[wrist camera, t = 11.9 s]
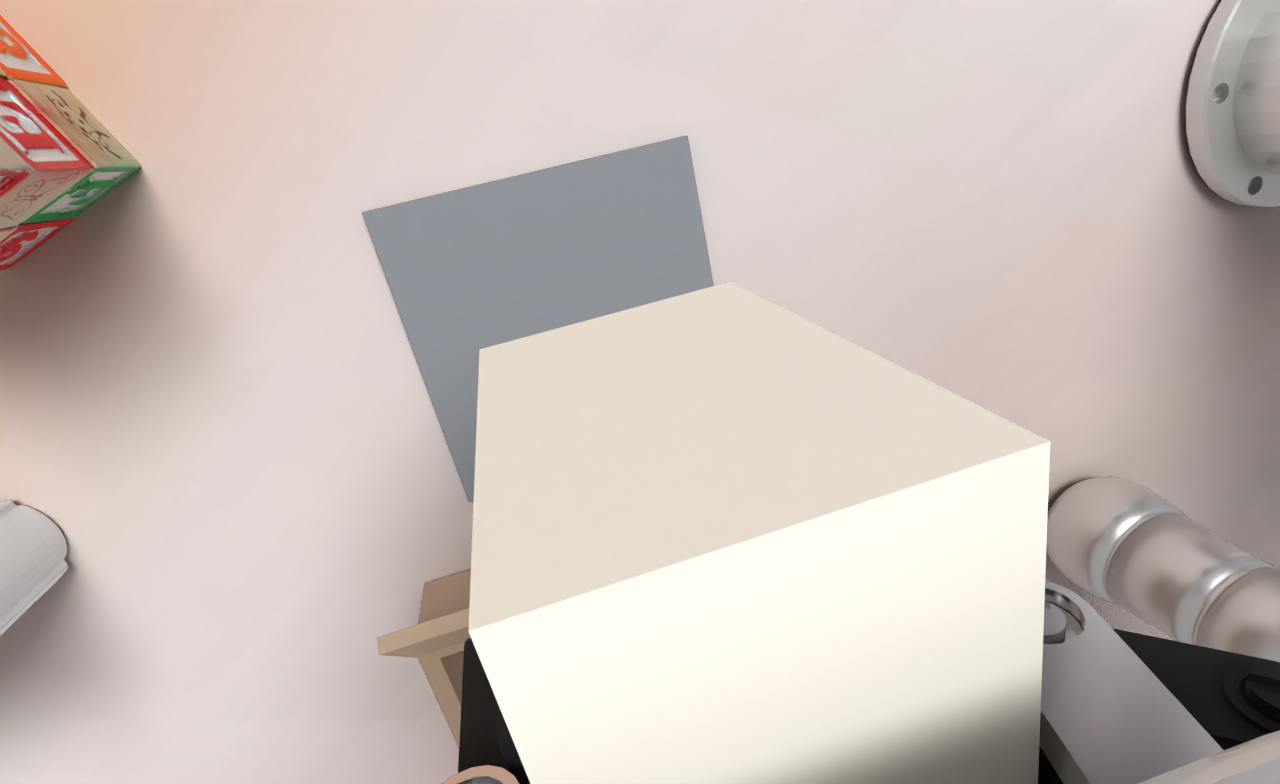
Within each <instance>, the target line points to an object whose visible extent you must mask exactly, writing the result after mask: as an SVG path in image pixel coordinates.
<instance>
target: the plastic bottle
mask: <svg viewBox="0 0 1280 784" xmlns="http://www.w3.org/2000/svg"><path fill="white" fill-rule="evenodd" d="M1046 550H1047V553H1048V556H1049V558H1050V560H1051V561H1052V563H1053V564H1054V565H1055V566H1056V567H1057V568H1058V569H1059V570H1060V571H1061V572H1062V573H1063V574H1064V575H1065V576H1066V577H1067V578H1068V579H1069V580H1070V581H1072V582H1073V583H1074V584H1075V585H1077V586H1079V587H1081V588H1083V589H1085V590H1086V591H1088V592H1090V593H1092V594H1094V595H1095V596H1097V597H1100V598H1102V599H1104V600H1106V601H1108V602H1111V603H1113V604H1116V605H1118V606H1120V607H1122V608H1123V609H1125V610H1127V611H1128V612H1130V613H1132V614H1133V615H1135V616H1137V617H1138V618H1140V619H1142V620H1143V621H1145V622H1147V623H1148V624H1150V625H1152V626H1153V627H1155V628H1157V629H1158V630H1160V631H1162V632H1163V633H1165V634H1167V635H1168V636H1170V637H1172V638H1173V639H1175V640H1177V641H1178V642H1182V643H1187V644H1192V645H1197V646H1202V647H1207V648H1213V649H1218V650H1223V651H1228V652H1233V653H1238V654H1243V655H1248V656H1253V657H1258V658H1263V659H1268V660H1273V661H1276V662H1280V569H1279V568H1276V567H1275V566H1274V565H1272V564H1270V563H1268V562H1265V561H1263V560H1261V559H1259V558H1257V557H1255V556H1252V555H1250V554H1248V553H1247V552H1245V551H1243V550H1242V549H1240V548H1238V547H1237V546H1235V545H1233V544H1232V543H1230V542H1228V541H1227V540H1225V539H1223V538H1222V537H1220V536H1218V535H1217V534H1215V533H1214V532H1212V531H1210V530H1209V529H1207V528H1205V527H1204V526H1202V525H1200V524H1199V523H1197V522H1195V521H1194V520H1192V519H1190V518H1188V517H1187V516H1186V515H1185V514H1184V513H1183V512H1182V511H1180V510H1179V509H1178V508H1177V507H1175V506H1174V505H1173V504H1172V503H1170V502H1169V501H1167V500H1166V499H1164V498H1163V497H1161V496H1159V495H1158V494H1156V493H1155V492H1153V491H1152V490H1150V489H1148V488H1146V487H1145V486H1142V485H1139V484H1136V483H1133V482H1130V481H1126V480H1123V479H1120V478H1115V477H1099V478H1090V479H1086V480H1083V481H1080V482H1078V483H1076V484H1074V485H1073V486H1071V487H1070V488H1068V489H1067V490H1066V491H1064V492H1063V493H1062V494H1061V495H1060V496H1059V497H1058V498H1057V500H1056V501H1055V502H1054V503H1053V505H1052V506H1051V508H1050V510H1049V512H1048V519H1047V546H1046Z"/></svg>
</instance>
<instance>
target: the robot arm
mask: <svg viewBox="0 0 1280 784" xmlns="http://www.w3.org/2000/svg"><path fill="white" fill-rule="evenodd" d="M1186 133H1187V138H1188V144H1189V149H1190V154H1191V156H1192V159H1193V161H1194V164H1195V166H1196V169H1197V171H1198V173H1199V175H1200V176H1201V177H1202V179H1203V180H1204V181H1205V183H1206V184H1207V185H1208V187H1209V188H1210V189H1211V190H1212V191H1214V192H1215V193H1216V194H1218V195H1219V196H1220V197H1222V198H1223V199H1225V200H1228V201H1231V202H1233V203H1236V204H1239V205H1248V206H1258V207H1277V206H1280V0H1222V1H1221V2H1220V4H1219V6H1218V8H1217V9H1216V11H1215V13H1214V14H1213V16H1212V18H1211V20H1210V21H1209V24H1208V26H1207V28H1206V31H1205V33H1204V36H1203V38H1202V40H1201V43H1200V45H1199V47H1198V50H1197V53H1196V57H1195V61H1194V64H1193V68H1192V71H1191V75H1190V79H1189V86H1188V93H1187V100H1186ZM442 784H530V781H529V779H528V776H527V774H526V771H525V769H524V766H523V764H522V762H521V759H520V757H519V754H518V752H517V749H516V747H515V744H514V742H513V739H512V737H511V735H510V732H509V730H508V727H507V725H506V722H505V720H504V717H503V715H502V712H501V710H500V708H499V705H498V703H497V700H496V698H495V695H494V693H493V690H492V688H491V685H490V683H489V681H488V678H487V676H486V673H485V671H484V668H483V666H482V663H481V661H480V658H479V656H478V653H477V651H476V649H475V646H474V644H473V641H472V639H471V638H469V639H467V640H466V641H465V645H464V656H463V678H462V700H461V721H460V743H459V765H458V773H457V774H455V775H453V776H452V777H451V778H449V779H448V780H446V781H445V782H444V783H442ZM1038 784H1280V662H1276V661H1273V660H1268V659H1263V658H1258V657H1253V656H1248V655H1243V654H1238V653H1233V652H1228V651H1223V650H1218V649H1213V648H1207V647H1202V646H1197V645H1192V644H1187V643H1182V642H1177V641H1172V640H1167V639H1162V638H1157V637H1152V636H1147V635H1142V634H1137V633H1132V632H1127V631H1122V630H1117V629H1112V628H1111V627H1110V626H1109V625H1108V624H1107V622H1106V621H1105V620H1104V619H1103V618H1102V617H1101V616H1100V615H1099V614H1098V613H1097V612H1096V610H1095V609H1094V608H1093V607H1092V606H1091V605H1090V604H1089V603H1088V602H1087V601H1085V600H1084V599H1083V598H1082V597H1081V596H1079V595H1078V594H1077V593H1075V592H1073V591H1071V590H1069V589H1067V588H1065V587H1063V586H1061V585H1059V584H1055V583H1052V582H1049V581H1046V580H1045V602H1044V630H1043V658H1042V685H1041V713H1040V741H1039V769H1038Z"/></svg>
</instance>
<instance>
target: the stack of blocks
mask: <svg viewBox="0 0 1280 784" xmlns="http://www.w3.org/2000/svg"><path fill="white" fill-rule="evenodd" d="M140 168H141V165H140V163H139V162H138V161H137V160H136V159H135V158H134V157H133V156H132V155H131V154H130V153H129V152H128V151H127V150H126V149H125V148H124V146H123V145H122V144H121V143H120V142H119V141H118V140H117V139H116V138H115V137H114V136H113V135H112V134H111V133H110V132H109V131H108V130H107V129H106V128H105V127H104V126H103V125H102V124H101V123H100V122H99V121H98V119H97V118H96V117H95V116H94V115H93V114H92V113H91V112H90V111H89V110H88V109H87V108H86V107H85V106H84V105H83V104H82V103H81V102H80V101H79V100H78V99H77V98H76V97H75V96H74V95H73V93H72V92H71V91H70V90H69V89H68V88H67V85H66V83H65V82H64V81H63V80H62V79H61V78H60V77H59V75H58V74H57V73H56V72H55V71H54V70H53V69H52V68H51V67H50V66H49V65H48V64H47V63H46V62H45V61H44V60H43V59H42V58H41V57H40V56H39V55H38V54H37V53H36V52H35V51H34V50H33V49H32V48H31V46H30V45H29V44H28V43H27V42H26V41H25V40H24V39H23V38H22V37H21V36H20V35H19V34H18V33H17V32H16V31H15V30H14V29H13V28H12V27H11V26H10V25H9V24H8V23H7V22H6V21H5V20H4V19H3V18H2V17H1V15H0V271H1V270H5V269H7V268H10V267H11V266H13V265H14V264H15V263H17V262H18V261H19V260H21V259H22V258H23V257H25V256H26V255H27V254H29V253H30V252H31V251H33V250H34V249H35V248H37V247H38V246H39V245H41V244H42V243H43V242H45V241H46V240H47V239H49V238H50V237H51V236H52V235H54V234H55V233H57V232H58V231H59V230H61V229H62V228H63V227H64V226H66V225H67V224H69V223H70V222H71V221H72V220H73V219H74V217H75V216H76V215H78V214H79V213H80V212H82V211H83V210H84V209H86V208H87V207H88V206H90V205H91V204H92V203H94V202H95V201H96V200H98V199H99V198H101V197H102V196H103V195H105V194H106V193H107V192H109V191H110V190H111V189H113V188H114V187H115V186H117V185H118V184H119V183H121V182H122V181H124V180H125V179H126V178H127V177H129V176H130V175H132V174H133V173H135V172H136V171H137V170H139V169H140Z"/></svg>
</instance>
